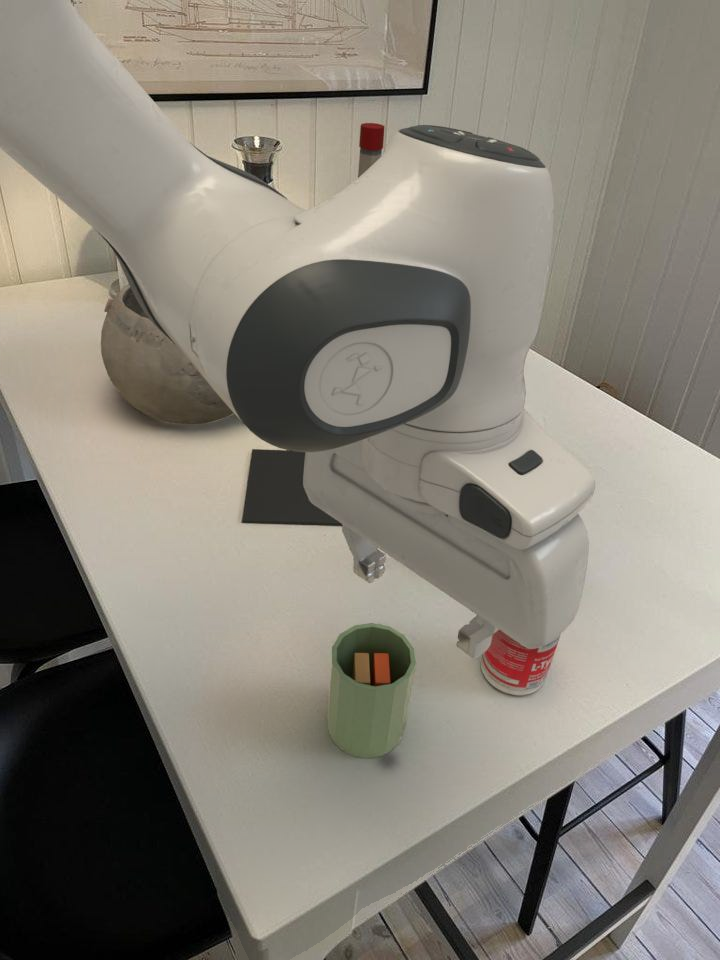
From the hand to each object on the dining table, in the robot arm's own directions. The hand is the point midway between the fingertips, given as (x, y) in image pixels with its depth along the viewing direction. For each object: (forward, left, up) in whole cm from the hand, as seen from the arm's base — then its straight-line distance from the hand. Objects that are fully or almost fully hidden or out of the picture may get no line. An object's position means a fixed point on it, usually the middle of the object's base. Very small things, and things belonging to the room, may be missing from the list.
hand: (418, 609), depth 51 cm
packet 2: (-1, +4, -18) cm, 18 cm away
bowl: (-24, +57, -18) cm, 64 cm away
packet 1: (-3, +4, -18) cm, 18 cm away
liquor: (0, +88, -18) cm, 90 cm away
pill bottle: (+12, +10, -18) cm, 24 cm away
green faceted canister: (-2, +4, -18) cm, 19 cm away
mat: (-5, +37, -18) cm, 41 cm away
